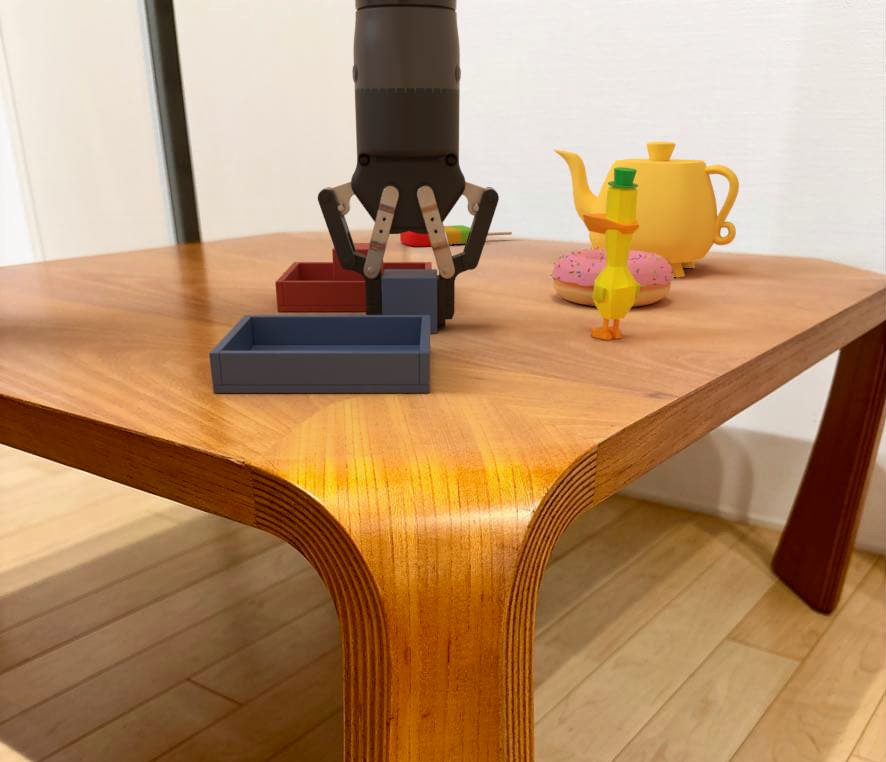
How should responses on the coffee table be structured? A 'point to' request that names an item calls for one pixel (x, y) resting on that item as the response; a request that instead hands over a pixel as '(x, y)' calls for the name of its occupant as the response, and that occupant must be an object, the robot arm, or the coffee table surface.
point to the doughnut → (584, 266)
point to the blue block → (410, 293)
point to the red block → (349, 275)
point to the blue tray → (324, 354)
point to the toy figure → (615, 253)
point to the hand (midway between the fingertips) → (410, 324)
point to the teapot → (664, 204)
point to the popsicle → (453, 234)
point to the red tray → (325, 288)
